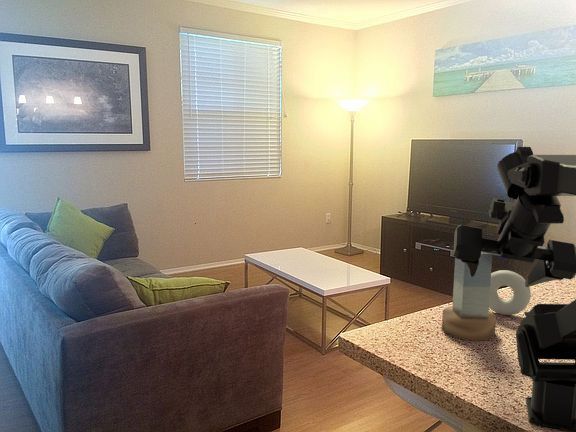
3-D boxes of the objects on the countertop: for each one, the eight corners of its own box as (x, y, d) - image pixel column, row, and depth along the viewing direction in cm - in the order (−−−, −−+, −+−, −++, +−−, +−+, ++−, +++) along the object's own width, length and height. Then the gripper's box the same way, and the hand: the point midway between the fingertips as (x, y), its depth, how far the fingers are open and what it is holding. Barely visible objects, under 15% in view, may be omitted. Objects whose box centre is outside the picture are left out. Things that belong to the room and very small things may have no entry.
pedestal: (495, 344, 89) (496, 326, 88) (439, 336, 93) (440, 318, 92) (494, 325, 98) (495, 309, 97) (443, 318, 102) (444, 303, 101)
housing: (488, 319, 92) (492, 253, 90) (461, 318, 92) (465, 253, 90) (477, 309, 97) (481, 247, 95) (452, 309, 97) (455, 247, 95)
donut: (529, 316, 103) (533, 271, 102) (528, 321, 100) (532, 275, 99) (480, 308, 108) (483, 265, 107) (478, 312, 105) (481, 269, 104)
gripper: (587, 195, 76) (550, 254, 88) (466, 177, 80) (446, 236, 91) (598, 248, 69) (556, 305, 81) (465, 225, 73) (444, 283, 84)
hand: (498, 279), depth 84 cm, fingers open, 9 cm apart
